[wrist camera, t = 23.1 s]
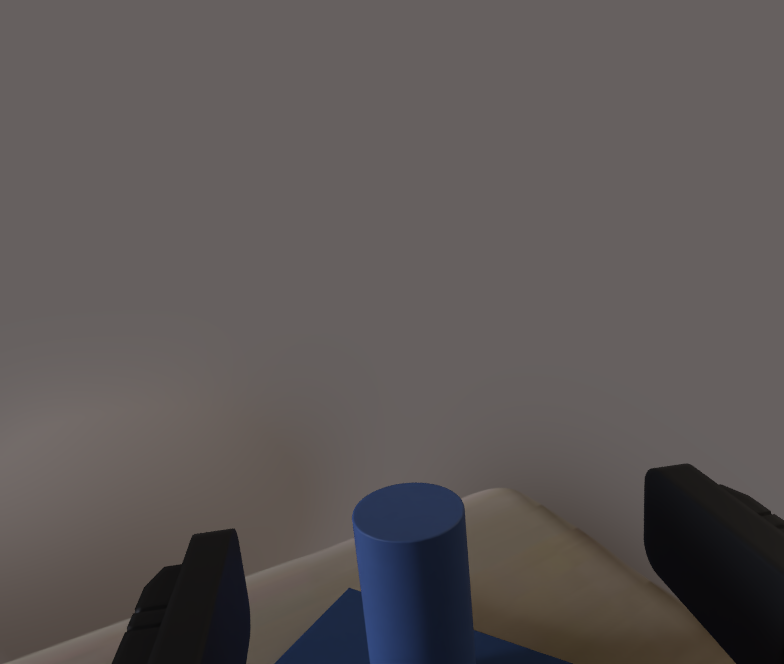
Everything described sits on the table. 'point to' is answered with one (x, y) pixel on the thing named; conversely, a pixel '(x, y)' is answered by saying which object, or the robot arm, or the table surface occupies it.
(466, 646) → the blue cylinder
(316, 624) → the blue mat
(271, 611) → the table surface
